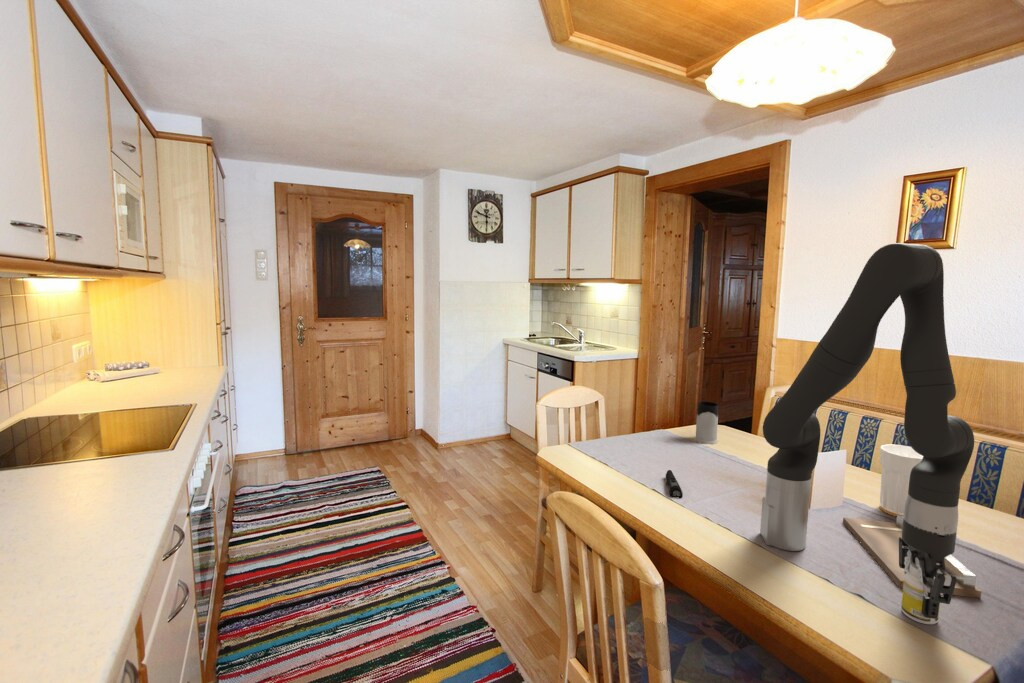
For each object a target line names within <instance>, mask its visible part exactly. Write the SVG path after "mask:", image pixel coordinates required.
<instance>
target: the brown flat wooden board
mask: <svg viewBox="0 0 1024 683" xmlns="http://www.w3.org/2000/svg"><path fill="white" fill-rule="evenodd" d="M842 523H843V525H844V526H845V527H846V528H847V529H848V530H849V532H850V533H851V532H852V533H853V534H852V533H851V534H852V535H853V536H854V537H855V538H856V540H857V541H858V540H859V541H860V542H861V543H860V542H859V541H858V542H859V543H860V545H862V546H863V547H864V549H865V550H866V551H867V552H868V553H869V555H871V556H873V559H874V560H875V562H877V564H878V565H879V566H880V567H881V568H882V570H884V571H885V573H886V572H887V573H886V574H887V575H888V576H889V577H890V579H891V580H892V581H893V582H894V583H895V584H896V586H898V587H899V588H901V589H903V583H904V573H903V571H904V569H903V568H900V567H899V537H902V529H900V528H899V527H898V526H897V525H896V522H889V521H881V520H871V519H863V518H854V517H843V518H842ZM906 558H907V557H905V560H906ZM945 571H946V570H945ZM946 572H947V571H946ZM947 573H948V572H947ZM948 574H949V573H948ZM949 575H950V574H949ZM953 595H954V596H960V597H969V598H977V599H981V597H982V590H981V589H980V588H979V587H977V586H976V585H975V588H972V587H964V586H962V585H961V584H960V583H959V582H958V581H956V585H955V588H954V591H953ZM953 595H952V596H953Z"/></svg>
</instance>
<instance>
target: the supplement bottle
mask: <svg viewBox="0 0 1024 683" xmlns="http://www.w3.org/2000/svg"><path fill="white" fill-rule="evenodd" d="M926 580H929V581H934V580H935V579H934V578H927V577H926ZM932 587H933V586H930V592H931V591H932ZM923 596H924V591H923V585H922V584H921V583H920V582H919V574H918V567H917V566H916V565H915V564H914V563H910V572H908V573H906V574H905V576H904V583H903V588H902V596H901V611H902V613H903V614H904V615H905V616H907V617H908V618H910V619H911V620H913V621H915V622H917V623H921V624H925V625H935V624H937V623H938V622H939V616H940V615H939V614H940V610H939V611H938V618H936V619H933V618H926V617H924V615H923V614H922V604H923ZM940 606H941V603H939V608H940Z"/></svg>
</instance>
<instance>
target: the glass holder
mask: <svg viewBox="0 0 1024 683" xmlns="http://www.w3.org/2000/svg"><path fill="white" fill-rule="evenodd" d="M718 412H719V404H718V403H716V402H712V401H699V402H697V412H696V413H697V414H696V425H695V427H696V428H695V436H694V441H695V442H698V443H700V444H705V445H715V444H718V442H719V440H718V425H719V424H718V423H719V422H718V420H719V415H718V414H719V413H718Z"/></svg>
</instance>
